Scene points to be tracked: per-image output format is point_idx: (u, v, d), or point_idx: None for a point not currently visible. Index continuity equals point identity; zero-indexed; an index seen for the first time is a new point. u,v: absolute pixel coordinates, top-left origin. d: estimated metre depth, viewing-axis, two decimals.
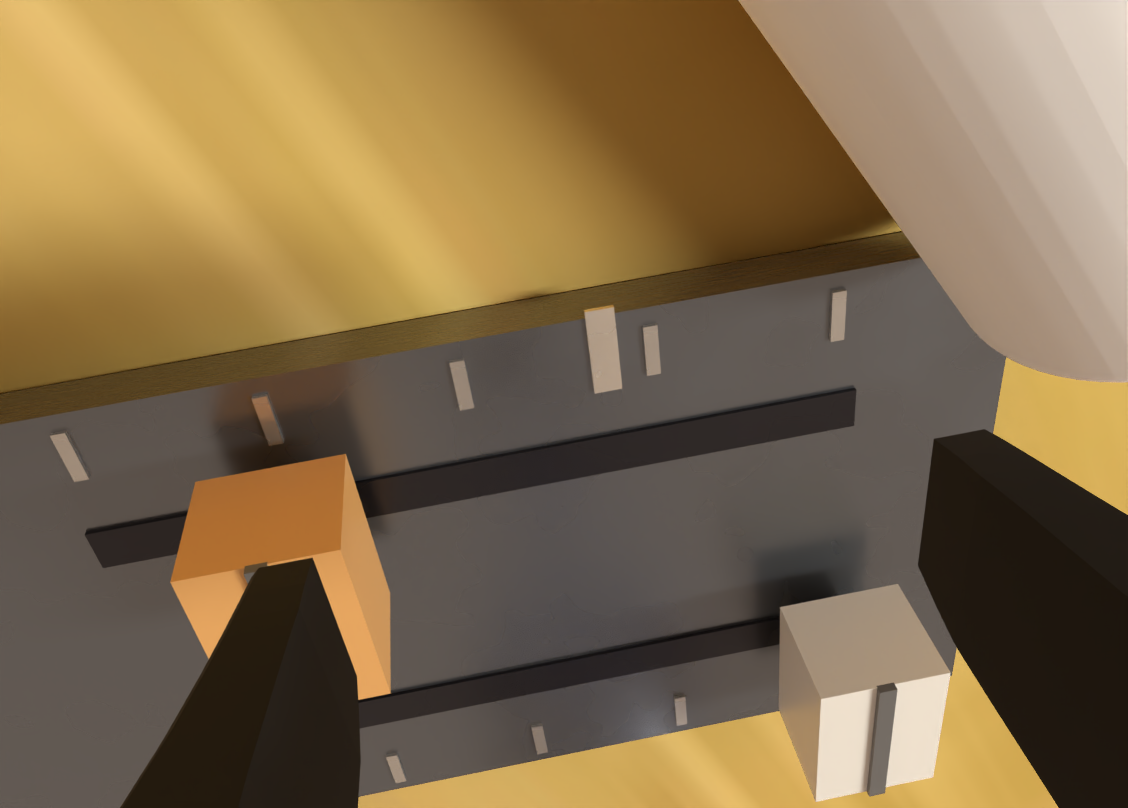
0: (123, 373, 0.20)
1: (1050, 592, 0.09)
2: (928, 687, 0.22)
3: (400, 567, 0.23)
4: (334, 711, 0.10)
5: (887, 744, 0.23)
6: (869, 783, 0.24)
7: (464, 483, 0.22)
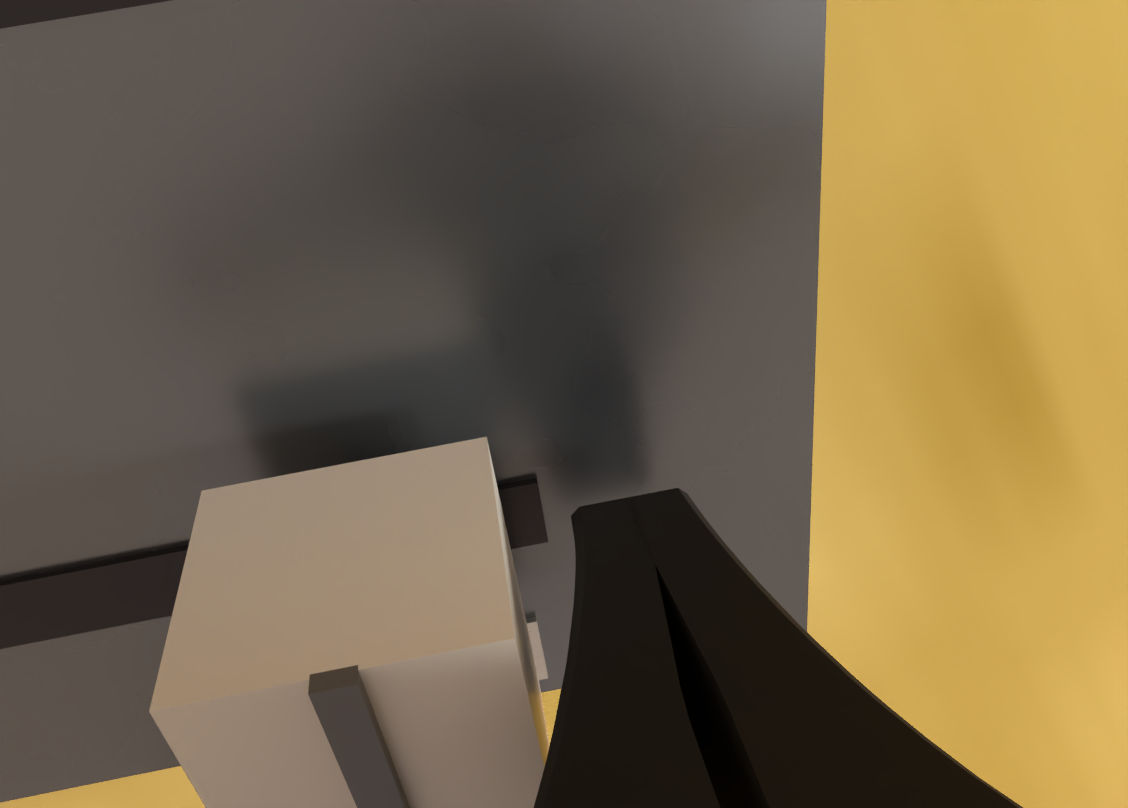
0: None
1: (686, 665, 0.09)
2: (466, 678, 0.08)
3: None
4: None
5: None
6: None
7: None
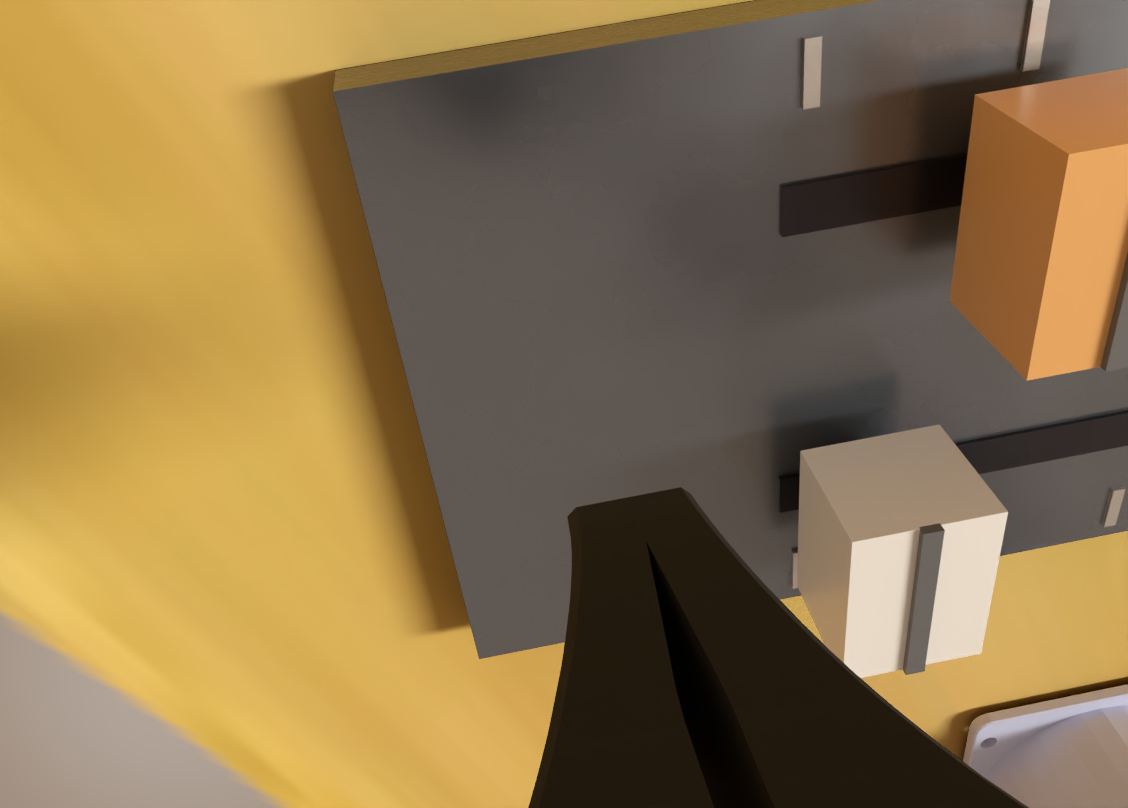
0: None
1: (690, 664, 0.09)
2: (981, 531, 0.19)
3: None
4: None
5: (929, 605, 0.19)
6: (906, 658, 0.20)
7: None
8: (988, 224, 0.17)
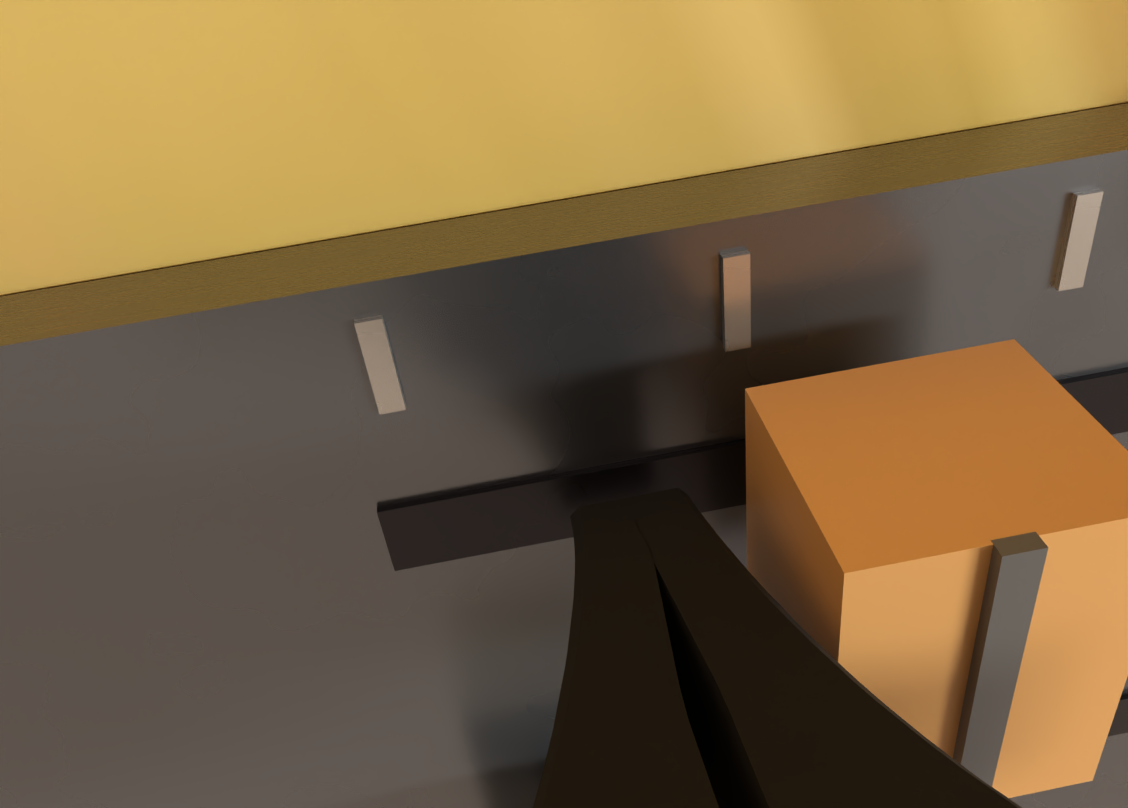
0: (465, 219, 0.11)
1: (686, 665, 0.09)
2: None
3: None
4: None
5: None
6: None
7: None
8: (772, 581, 0.11)
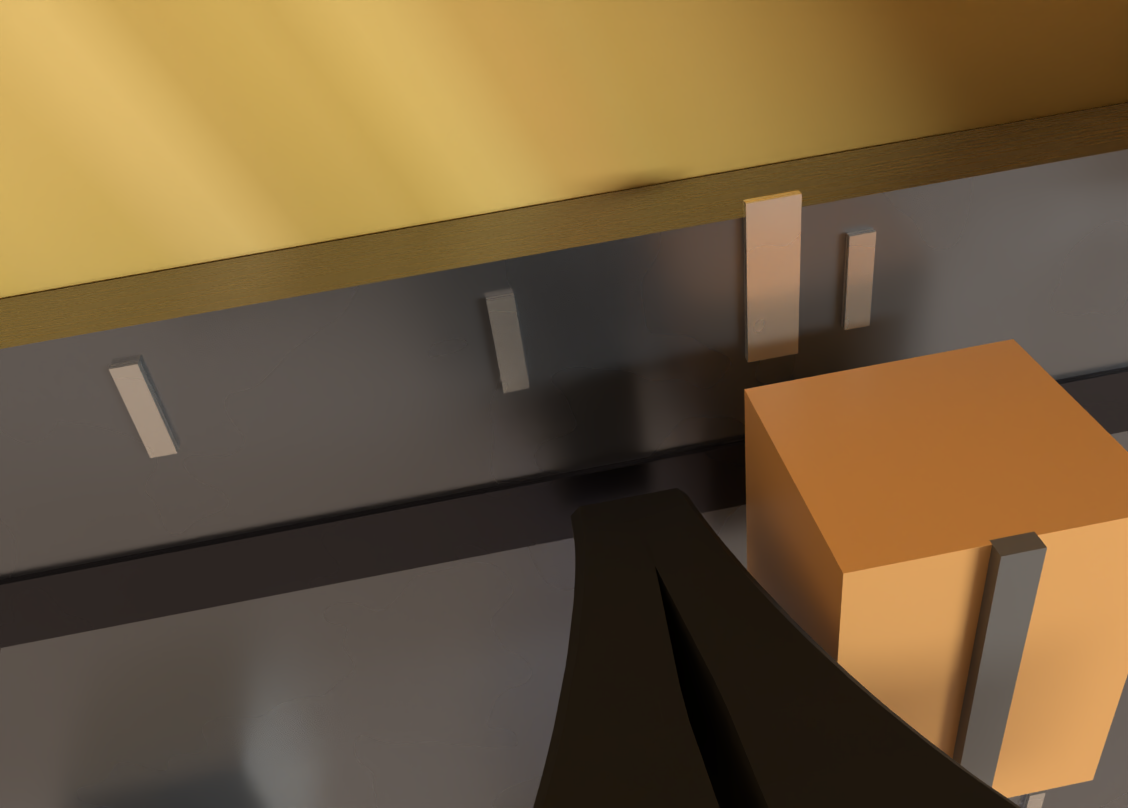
0: None
1: (685, 665, 0.09)
2: None
3: (394, 661, 0.14)
4: None
5: None
6: None
7: (507, 522, 0.12)
8: (773, 581, 0.11)
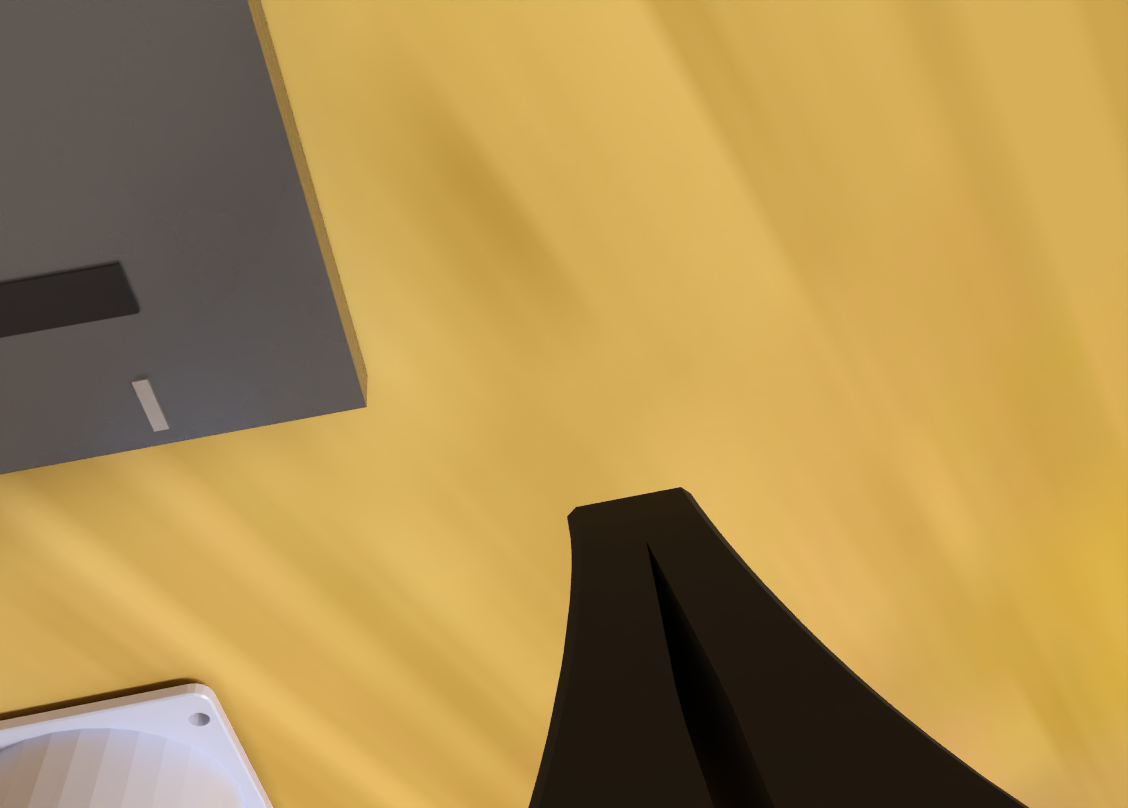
0: None
1: (690, 664, 0.09)
2: None
3: None
4: None
5: None
6: None
7: None
8: None
